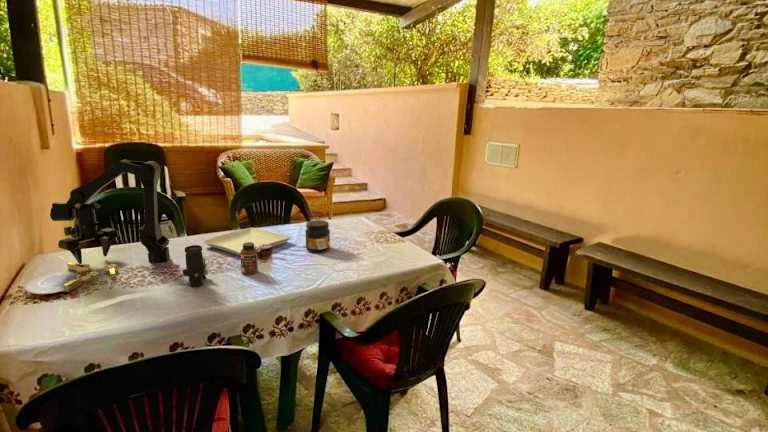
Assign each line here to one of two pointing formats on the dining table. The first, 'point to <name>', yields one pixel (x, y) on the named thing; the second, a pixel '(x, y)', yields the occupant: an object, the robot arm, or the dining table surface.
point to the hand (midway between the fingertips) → (93, 259)
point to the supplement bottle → (249, 259)
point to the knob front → (79, 267)
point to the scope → (195, 266)
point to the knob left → (77, 281)
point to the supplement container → (317, 236)
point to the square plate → (246, 239)
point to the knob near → (111, 270)
